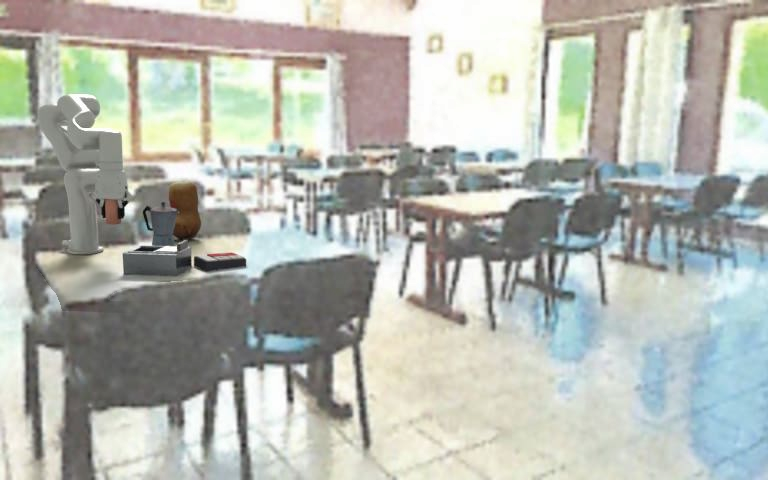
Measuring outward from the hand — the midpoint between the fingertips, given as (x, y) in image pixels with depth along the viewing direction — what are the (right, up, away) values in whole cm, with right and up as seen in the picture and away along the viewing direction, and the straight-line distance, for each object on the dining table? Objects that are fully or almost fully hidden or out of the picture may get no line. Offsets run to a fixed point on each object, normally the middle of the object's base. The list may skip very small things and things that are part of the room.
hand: (113, 217), depth 236 cm
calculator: (+37, -18, +1) cm, 41 cm away
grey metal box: (+19, -18, -8) cm, 27 cm away
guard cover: (+24, -11, -9) cm, 28 cm away
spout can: (0, -2, 0) cm, 2 cm away
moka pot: (+11, -14, +17) cm, 25 cm away
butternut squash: (+12, -8, +47) cm, 49 cm away
